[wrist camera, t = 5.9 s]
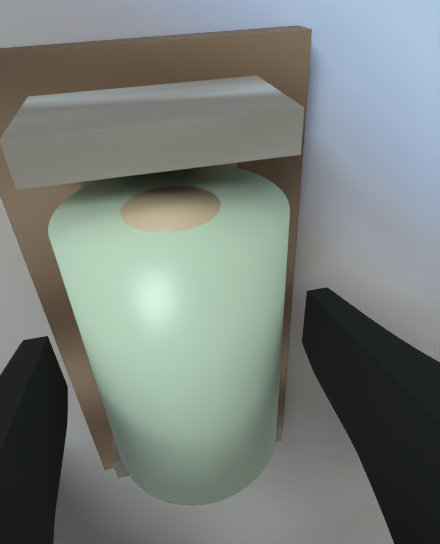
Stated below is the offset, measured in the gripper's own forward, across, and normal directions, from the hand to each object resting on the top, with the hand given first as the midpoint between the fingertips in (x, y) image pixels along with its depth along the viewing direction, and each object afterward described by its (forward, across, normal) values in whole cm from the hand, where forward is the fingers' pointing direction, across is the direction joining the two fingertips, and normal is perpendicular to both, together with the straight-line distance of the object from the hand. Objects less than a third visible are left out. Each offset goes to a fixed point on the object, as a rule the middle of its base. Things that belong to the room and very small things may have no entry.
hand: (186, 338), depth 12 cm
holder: (+4, 0, +2) cm, 5 cm away
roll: (+2, 0, 0) cm, 2 cm away
